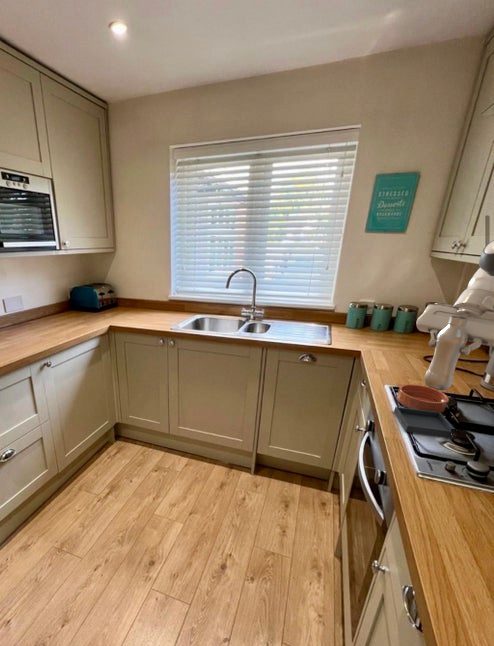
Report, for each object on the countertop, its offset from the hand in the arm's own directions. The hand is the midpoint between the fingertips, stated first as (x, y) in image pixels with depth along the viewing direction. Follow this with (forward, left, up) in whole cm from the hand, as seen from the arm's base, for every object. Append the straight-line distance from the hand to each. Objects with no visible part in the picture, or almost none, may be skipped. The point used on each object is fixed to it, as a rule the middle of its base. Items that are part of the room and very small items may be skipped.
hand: (447, 349), depth 87 cm
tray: (0, 0, -23) cm, 23 cm away
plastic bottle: (0, 0, -12) cm, 12 cm away
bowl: (-4, -14, -23) cm, 28 cm away
